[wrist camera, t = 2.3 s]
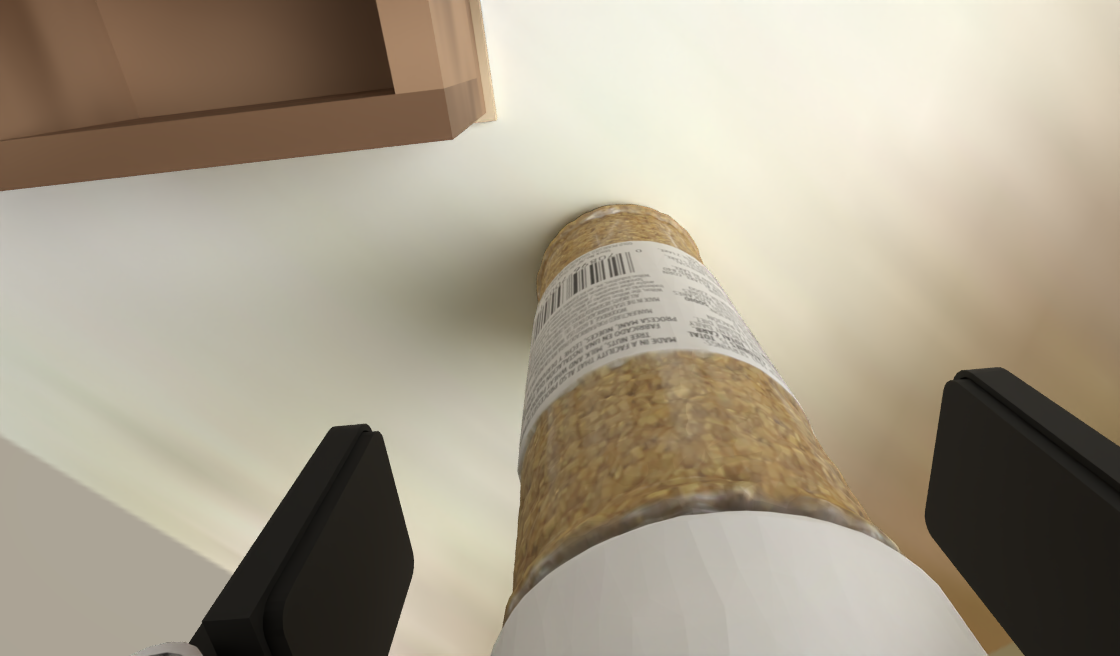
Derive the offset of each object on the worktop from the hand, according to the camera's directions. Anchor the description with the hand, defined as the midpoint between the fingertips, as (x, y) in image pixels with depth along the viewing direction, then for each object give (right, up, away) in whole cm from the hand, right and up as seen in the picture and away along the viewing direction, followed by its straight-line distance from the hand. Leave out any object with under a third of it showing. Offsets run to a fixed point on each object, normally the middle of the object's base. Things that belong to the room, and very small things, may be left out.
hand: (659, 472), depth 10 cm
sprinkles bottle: (0, +4, +6) cm, 7 cm away
